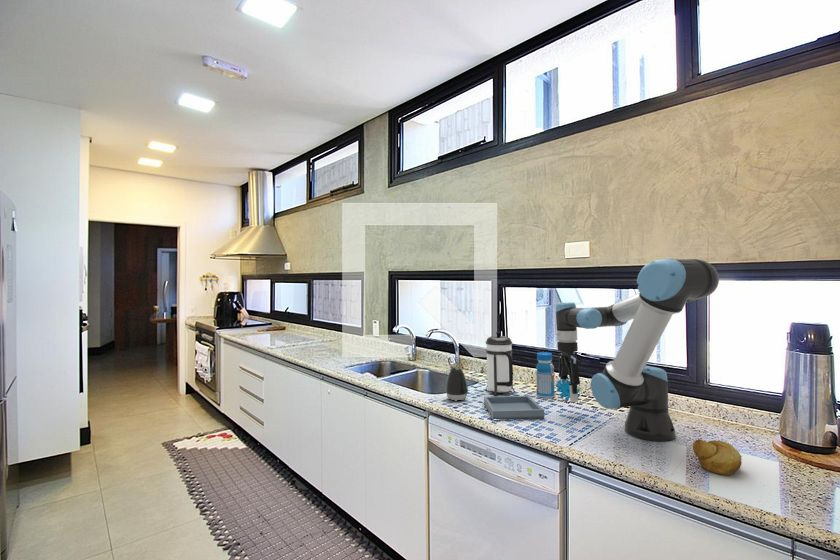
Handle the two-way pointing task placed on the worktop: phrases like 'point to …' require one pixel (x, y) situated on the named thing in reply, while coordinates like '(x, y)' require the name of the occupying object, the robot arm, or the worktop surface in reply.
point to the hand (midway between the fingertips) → (569, 398)
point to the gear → (565, 389)
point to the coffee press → (499, 364)
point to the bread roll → (717, 456)
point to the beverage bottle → (545, 375)
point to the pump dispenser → (456, 384)
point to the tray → (513, 407)
